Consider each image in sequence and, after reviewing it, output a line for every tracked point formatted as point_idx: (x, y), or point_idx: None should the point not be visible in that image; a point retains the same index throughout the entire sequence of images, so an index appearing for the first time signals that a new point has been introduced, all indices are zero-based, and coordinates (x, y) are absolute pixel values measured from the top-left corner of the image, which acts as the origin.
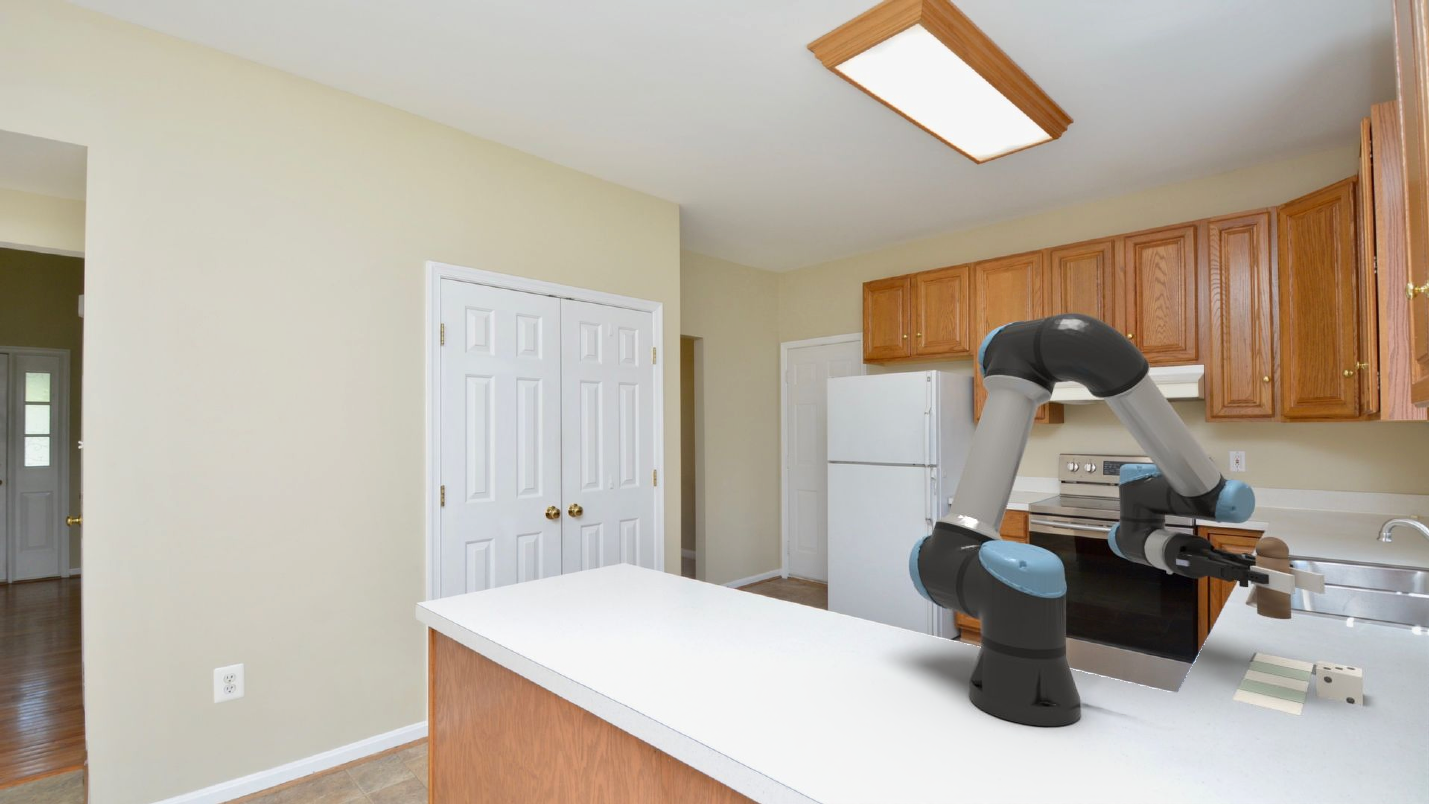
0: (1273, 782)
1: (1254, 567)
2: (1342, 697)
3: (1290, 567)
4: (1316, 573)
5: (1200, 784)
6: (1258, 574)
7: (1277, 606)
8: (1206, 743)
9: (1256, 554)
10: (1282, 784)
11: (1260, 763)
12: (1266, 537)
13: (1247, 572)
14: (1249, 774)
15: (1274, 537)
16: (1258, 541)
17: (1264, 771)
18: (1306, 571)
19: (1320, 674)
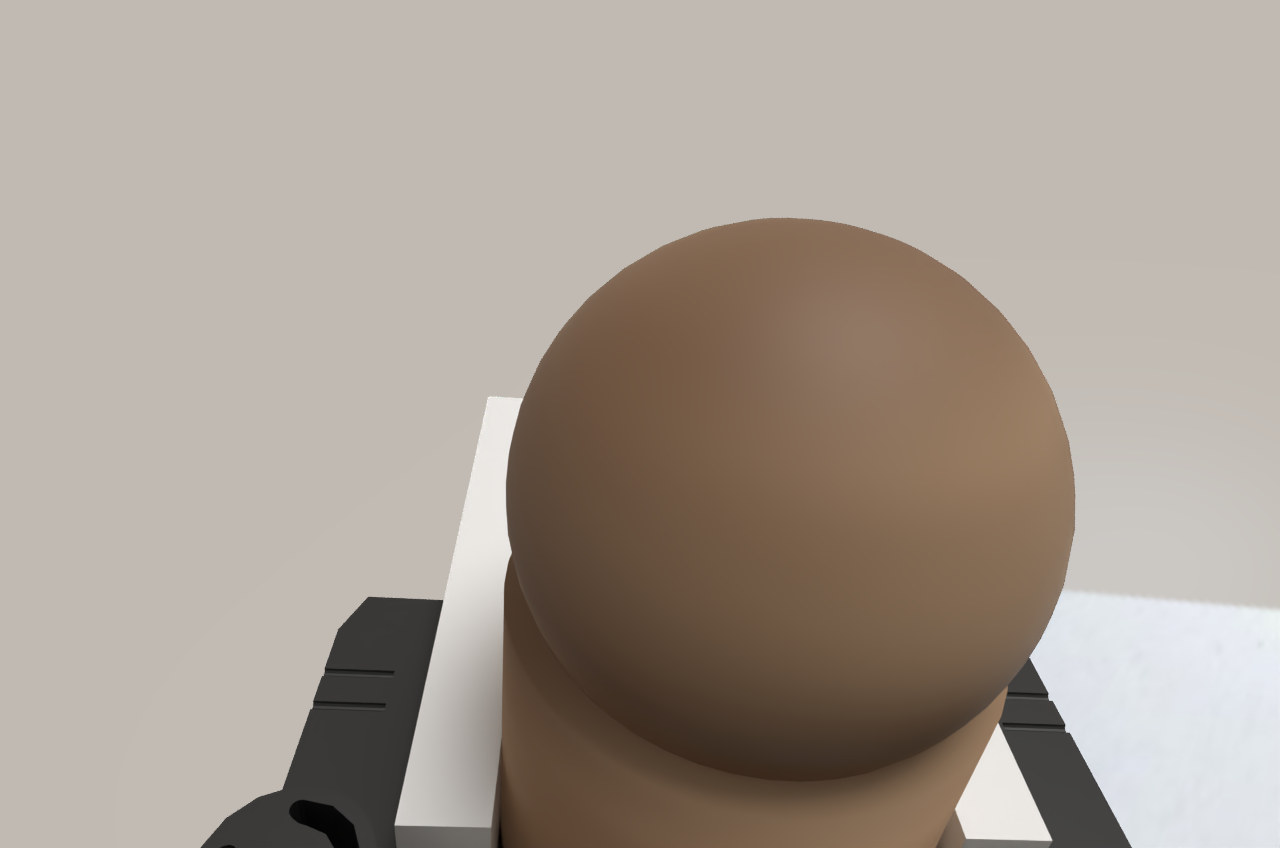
0: (1080, 626)
1: (1014, 764)
2: None
3: (431, 685)
4: (489, 437)
5: (1267, 636)
6: (1024, 665)
7: None
8: (1203, 823)
9: (932, 784)
10: (1061, 618)
11: (1070, 700)
12: (934, 281)
13: (1103, 817)
14: (1127, 659)
15: (795, 224)
16: (1057, 439)
17: (1079, 666)
18: (494, 499)
19: None
